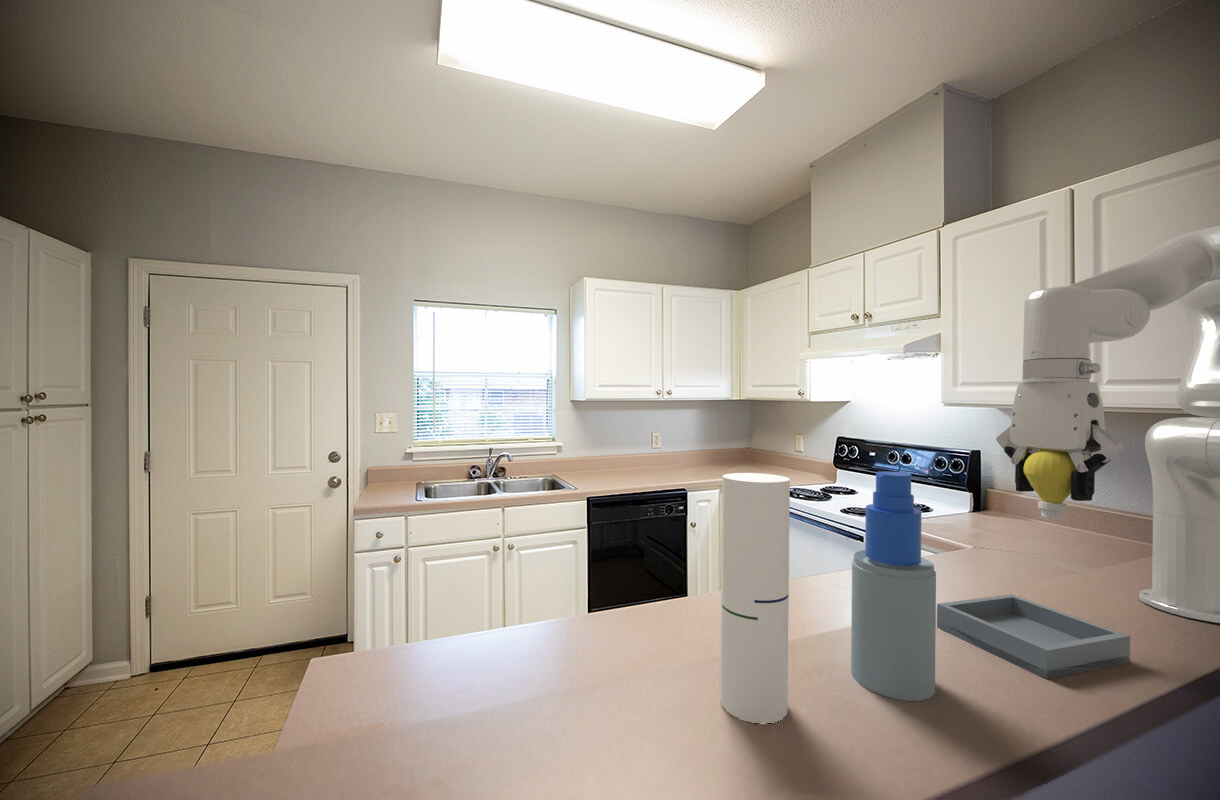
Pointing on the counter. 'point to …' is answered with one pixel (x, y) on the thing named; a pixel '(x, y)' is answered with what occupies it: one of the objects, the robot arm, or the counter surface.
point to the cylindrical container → (755, 596)
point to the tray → (1034, 635)
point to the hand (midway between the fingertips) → (1052, 494)
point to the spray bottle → (893, 598)
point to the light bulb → (1050, 480)
